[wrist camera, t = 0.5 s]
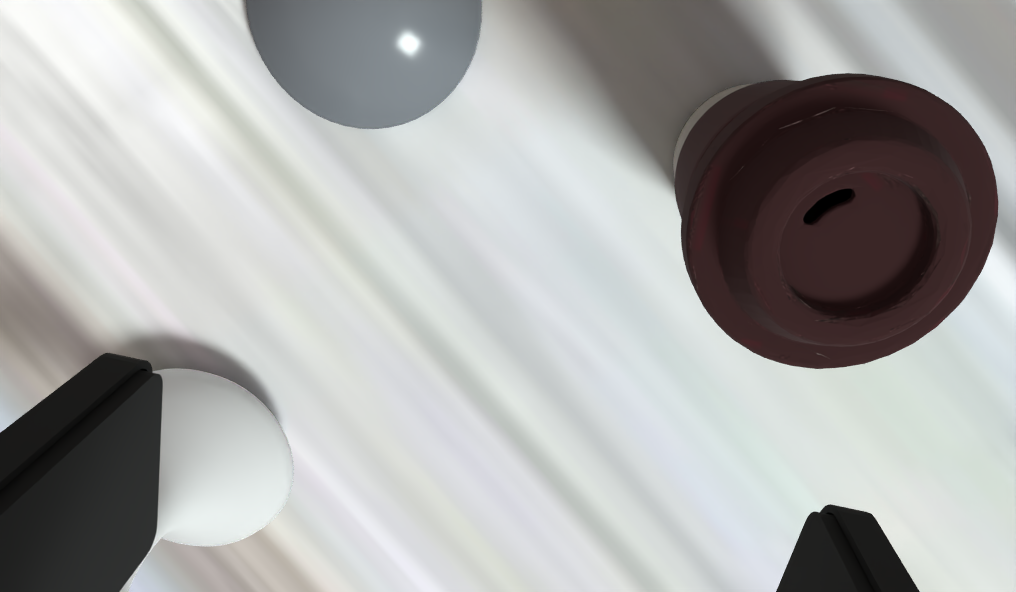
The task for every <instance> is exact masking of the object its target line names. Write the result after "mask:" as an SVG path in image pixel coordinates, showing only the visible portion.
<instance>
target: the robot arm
mask: <svg viewBox="0 0 1016 592" xmlns="http://www.w3.org/2000/svg"><path fill="white" fill-rule="evenodd" d="M162 395H163V380H162V377H161V375H160V374H157V373H153V370H152V367H151V364H150V363H149V362H148V361H145V360H140V359H135V358H131V357H126V356H121V355H116V354H111V353H105V354H103V355H101V356H100V357H98V358H97V359H96V360H94V361H93V362H92V363H91V364H89V365H88V366H87V367H85V368H84V369H83V370H81V371H80V372H79V373H78V374H76V375H75V376H74V377H72V378H71V379H70V380H68V381H67V382H66V383H64V384H63V385H62V386H61V387H59V388H58V389H57V390H55V391H54V392H53V393H51V394H50V395H49V396H48V397H46V398H45V399H44V400H42V401H41V402H40V403H38V404H37V405H36V406H35V407H33V408H32V409H31V410H29V411H28V412H27V413H25V414H24V415H23V416H22V417H20V418H19V419H18V420H16V421H15V422H14V423H12V424H11V425H10V426H9V427H7V428H6V429H5V430H3V431H2V432H1V433H0V592H120V590H121V589H122V588H123V586H124V585H125V584H126V582H127V581H128V580H129V578H130V577H131V576H132V574H133V573H134V572H135V570H136V569H137V568H138V566H139V565H140V564H141V562H142V561H143V560H144V558H145V557H146V556H147V554H148V552H149V551H150V549H151V547H152V545H153V542H154V539H155V536H156V532H157V520H158V495H159V470H160V445H161V420H162ZM776 592H919V590H918V588H917V587H916V585H915V583H914V582H913V580H912V578H911V577H910V575H909V573H908V572H907V570H906V569H905V567H904V565H903V564H902V562H901V560H900V559H899V557H898V555H897V554H896V552H895V550H894V549H893V547H892V545H891V544H890V542H889V540H888V539H887V537H886V535H885V534H884V532H883V530H882V529H881V527H880V525H879V524H878V522H877V520H876V519H875V518H874V516H873V515H872V514H870V513H868V512H864V511H859V510H854V509H850V508H845V507H840V506H835V505H831V504H830V505H827V506H825V507H824V508H823V509H822V510H821V512H820V513H819V512H812V513H811V514H810V515H809V516H808V518H807V519H806V522H805V524H804V526H803V529H802V531H801V533H800V536H799V538H798V541H797V543H796V545H795V548H794V550H793V553H792V555H791V557H790V560H789V562H788V565H787V567H786V569H785V572H784V574H783V577H782V579H781V581H780V584H779V586H778V589H777V591H776Z"/></svg>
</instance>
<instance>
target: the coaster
mask: <svg viewBox="0 0 1016 592" xmlns="http://www.w3.org/2000/svg"><path fill="white" fill-rule="evenodd" d="M246 4H247V15H248V19H249V24H250V29H251V32H252V35H253V38H254V41H255V44H256V47H257V49H258V51H259V53H260V55H261V58H262V60H263V62H264V63H265V65H266V66H267V68H268V70H269V71H270V73H271V74H272V76H273V77H274V78H275V79H276V81H277V82H278V83H279V85H280V86H281V87H282V88H283V89H284V90H285V91H286V92H287V93H288V94H289V95H290V96H291V97H292V98H293V99H294V100H296V101H297V102H298V103H299V104H301V105H302V106H303V107H305V108H306V109H308V110H310V111H311V112H313V113H314V114H316V115H318V116H320V117H322V118H324V119H327V120H329V121H331V122H334V123H338V124H341V125H344V126H349V127H355V128H362V129H379V128H389V127H393V126H397V125H401V124H405V123H407V122H410V121H412V120H415V119H417V118H419V117H421V116H422V115H424V114H426V113H428V112H429V111H431V110H432V109H433V108H435V107H436V106H437V105H439V104H440V103H441V102H443V101H444V100H445V99H446V98H447V97H448V96H449V95H450V94H451V93H452V92H453V90H454V89H455V88H456V86H457V85H458V84H459V83H460V81H461V80H462V78H463V77H464V75H465V73H466V71H467V70H468V68H469V66H470V64H471V61H472V59H473V56H474V54H475V51H476V48H477V44H478V40H479V37H480V29H481V22H482V0H246Z"/></svg>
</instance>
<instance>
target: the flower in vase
mask: <svg viewBox="0 0 1016 592" xmlns="http://www.w3.org/2000/svg"><path fill="white" fill-rule="evenodd" d="M153 373H157V374H160V375H161V377H162V380H163V395H162V420H161V445H160V470H159V495H158V520H157V532H156V536H155V539H154V542H153V545H152V547H151V549H150V551H151V550H152V548H153V547H154V546H155V545H156V543H157V542H158V541H159V540H160V539H161V538H162V539H164V540H168V541H171V542H175V543H180V544H186V545H193V546H219V545H226V544H230V543H234V542H237V541H240V540H242V539H244V538H247V537H249V536H250V535H252V534H254V533H255V532H257V531H259V530H260V529H262V528H264V527H265V526H266V525H267V524H269V523H270V522H271V521H272V520H273V519H274V518H275V517H276V516H277V515H278V514H279V513H280V512H281V510H282V508H283V507H284V505H285V504H286V502H287V500H288V497H289V495H290V492H291V488H292V484H293V476H294V465H293V457H292V452H291V448H290V446H289V443H288V440H287V437H286V435H285V433H284V432H283V430H282V428H281V426H280V424H279V423H278V421H277V420H276V418H275V417H274V415H273V414H272V413H271V411H270V410H269V409H268V408H267V407H266V406H265V405H264V404H263V403H262V402H261V401H260V400H259V399H258V398H257V397H256V396H254V395H253V394H252V393H250V392H249V391H248V390H246V389H245V388H243V387H242V386H240V385H238V384H236V383H235V382H233V381H230V380H228V379H226V378H223V377H221V376H218V375H215V374H211V373H208V372H204V371H198V370H193V369H182V368H173V369H162V370H156V371H153ZM150 551H149V552H148V554H149V553H150ZM148 554H147V555H148ZM146 557H147V556H146ZM146 557H145V558H146ZM145 558H144V560H145ZM144 560H143V561H144ZM143 561H142V562H141V564H142V563H143ZM141 564H140V565H139V566H138V568H137V569H136V570H135V572H134V573H133V574H132V576H131V577H130V578H129V580H128V581H127V582H126V584H125V585H124V586H123V588H122V589H121V590H120V592H128V591H129V589H130V586H131V584H132V581H133V579H134V577H135V575H136V574H137V572H138V570H139V568H140V566H141Z"/></svg>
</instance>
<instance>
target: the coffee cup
mask: <svg viewBox="0 0 1016 592" xmlns="http://www.w3.org/2000/svg"><path fill="white" fill-rule="evenodd" d="M673 173H674V180H675V194H676V201H677V205H678V209H679V212H680V216H681V219H682V223H681V242H682V251H683V257H684V261H685V265H686V269H687V272H688V275H689V277H690V280H691V282H692V284H693V286H694V289H695V291H696V293H697V295H698V297H699V298H700V300H701V302H702V304H703V306H704V308H705V309H706V310H707V312H708V313H709V315H710V316H711V317H712V318H713V320H714V321H715V322H716V323H717V325H718V326H719V327H720V328H721V329H722V330H723V331H724V332H725V333H726V334H727V335H729V336H730V337H731V338H732V339H733V340H735V341H736V342H738V343H739V344H741V345H742V346H744V347H746V348H747V349H749V350H750V351H752V352H753V353H756V354H758V355H760V356H762V357H764V358H767V359H770V360H773V361H776V362H779V363H783V364H787V365H791V366H798V367H805V368H815V369H823V368H839V367H847V366H853V365H859V364H865V363H868V362H871V361H874V360H876V359H879V358H882V357H885V356H888V355H891V354H893V353H895V352H897V351H899V350H901V349H903V348H905V347H907V346H909V345H911V344H913V343H915V342H916V341H917V340H919V339H920V338H922V337H923V336H924V335H926V334H927V333H929V332H930V331H932V330H933V329H934V328H936V327H937V326H938V325H939V324H940V323H941V322H942V321H943V320H944V319H945V318H946V317H947V316H948V315H949V314H950V313H951V312H953V311H954V310H955V309H956V308H957V307H958V305H959V304H960V303H961V302H962V301H963V300H964V298H965V297H966V295H967V294H968V292H969V291H970V289H971V288H972V286H973V285H974V283H975V281H976V280H977V278H978V276H979V275H980V273H981V271H982V269H983V267H984V265H985V262H986V260H987V257H988V255H989V252H990V249H991V247H992V244H993V239H994V234H995V228H996V223H997V217H998V194H997V186H996V179H995V175H994V171H993V167H992V163H991V160H990V157H989V155H988V153H987V151H986V148H985V146H984V145H983V143H982V141H981V139H980V138H979V136H978V135H977V133H976V132H975V131H974V129H973V128H972V127H971V125H970V124H969V123H968V121H967V120H966V119H965V118H964V117H963V116H962V115H961V114H960V113H959V112H958V111H957V110H956V109H955V108H953V107H952V106H951V105H949V104H948V103H946V102H945V101H943V100H942V99H940V98H939V97H937V96H935V95H934V94H932V93H930V92H928V91H927V90H924V89H922V88H919V87H917V86H915V85H912V84H909V83H905V82H902V81H898V80H894V79H889V78H885V77H881V76H873V75H866V74H850V73H846V74H831V75H825V76H819V77H813V78H809V79H806V80H803V81H791V80H773V81H766V82H760V83H751V84H745V85H739V86H735V87H731V88H729V89H726V90H724V91H722V92H720V93H718V94H716V95H714V96H713V97H711V98H710V99H708V100H707V101H706V102H704V103H703V104H702V105H701V106H700V107H699V108H698V109H697V110H696V111H695V112H694V113H693V114H692V115H691V117H690V118H689V119H688V121H687V122H686V124H685V126H684V127H683V129H682V131H681V133H680V135H679V138H678V140H677V144H676V147H675V152H674V159H673Z"/></svg>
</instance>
